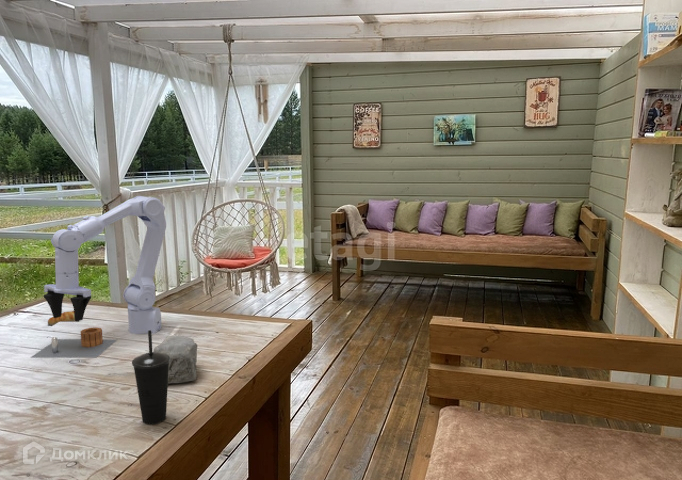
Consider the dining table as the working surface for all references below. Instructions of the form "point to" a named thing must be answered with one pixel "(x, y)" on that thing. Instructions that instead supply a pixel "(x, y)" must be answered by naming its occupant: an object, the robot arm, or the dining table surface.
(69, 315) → the pastry
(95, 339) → the bead
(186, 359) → the stone
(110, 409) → the dining table surface
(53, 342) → the metal post
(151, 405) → the drinking cup
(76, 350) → the grey rectangular slab
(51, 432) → the dining table surface
